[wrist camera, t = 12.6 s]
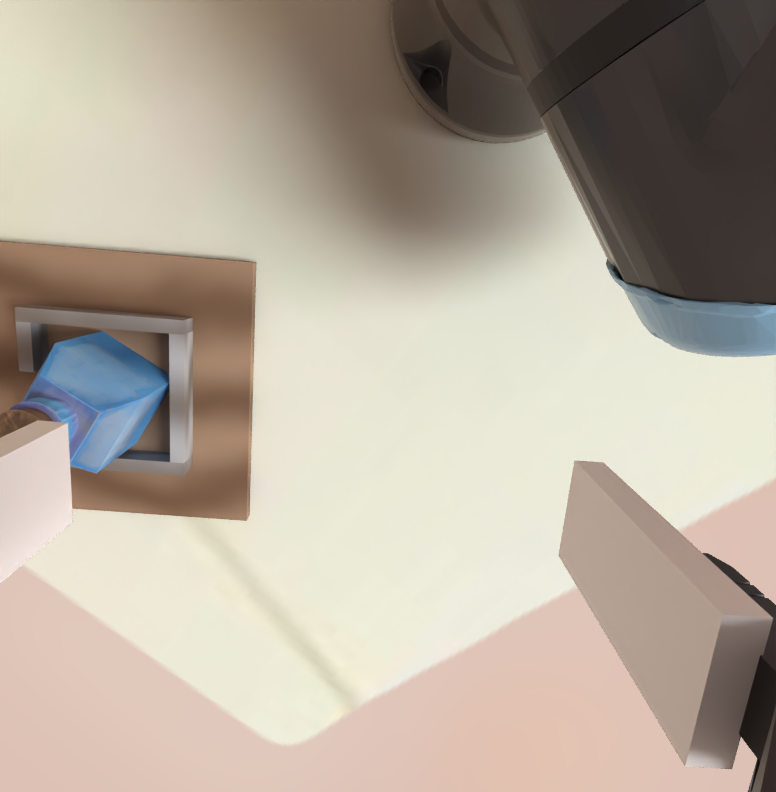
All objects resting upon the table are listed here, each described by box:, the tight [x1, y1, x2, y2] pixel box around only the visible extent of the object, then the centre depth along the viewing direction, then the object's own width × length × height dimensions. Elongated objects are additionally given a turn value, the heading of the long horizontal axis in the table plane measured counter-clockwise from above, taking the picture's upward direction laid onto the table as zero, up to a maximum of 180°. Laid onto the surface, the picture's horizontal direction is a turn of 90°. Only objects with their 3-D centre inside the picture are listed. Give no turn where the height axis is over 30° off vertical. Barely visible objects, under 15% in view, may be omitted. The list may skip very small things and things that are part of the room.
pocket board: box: [0, 241, 256, 521], centre depth 42 cm, size 20×20×3 cm
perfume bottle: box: [0, 331, 170, 473], centre depth 36 cm, size 6×6×12 cm
